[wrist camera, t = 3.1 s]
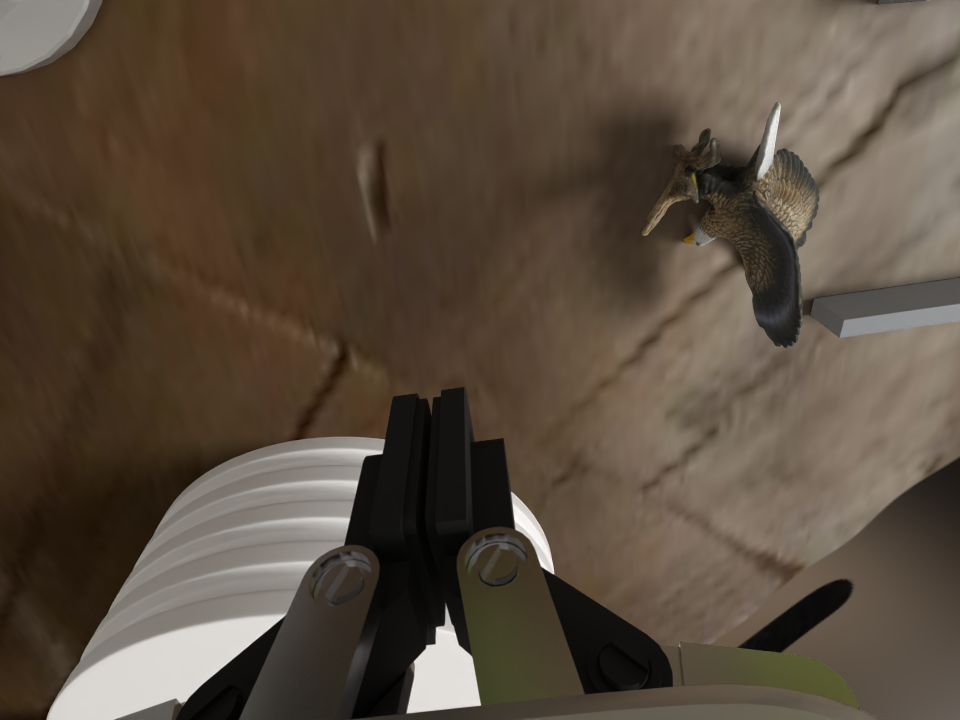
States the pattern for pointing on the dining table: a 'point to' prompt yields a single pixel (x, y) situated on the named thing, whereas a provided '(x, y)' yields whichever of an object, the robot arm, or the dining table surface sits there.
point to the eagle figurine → (752, 220)
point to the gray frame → (889, 302)
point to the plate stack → (244, 582)
